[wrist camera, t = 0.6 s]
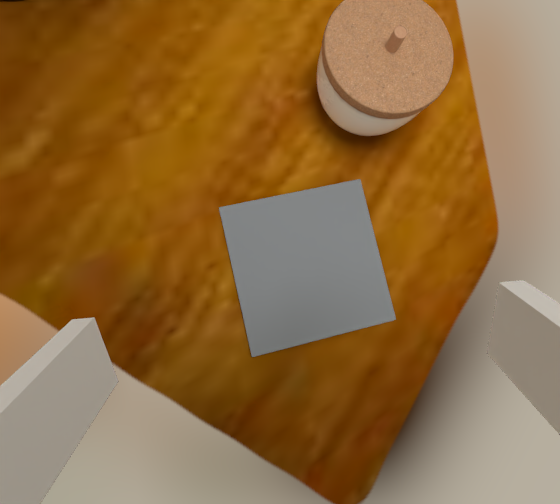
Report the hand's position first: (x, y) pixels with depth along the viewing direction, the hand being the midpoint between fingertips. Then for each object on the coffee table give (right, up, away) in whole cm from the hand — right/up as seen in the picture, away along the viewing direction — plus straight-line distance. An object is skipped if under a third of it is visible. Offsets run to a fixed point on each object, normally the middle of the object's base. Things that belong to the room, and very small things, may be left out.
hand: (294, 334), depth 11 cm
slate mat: (+2, +2, +20) cm, 20 cm away
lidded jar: (+7, +18, +22) cm, 30 cm away
